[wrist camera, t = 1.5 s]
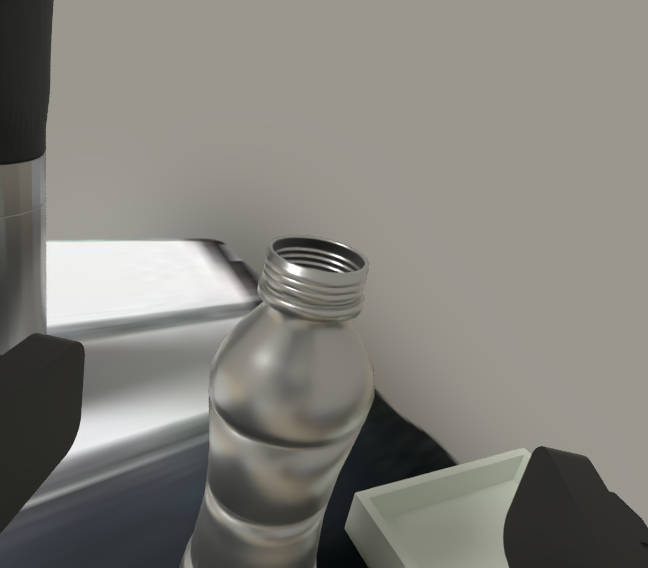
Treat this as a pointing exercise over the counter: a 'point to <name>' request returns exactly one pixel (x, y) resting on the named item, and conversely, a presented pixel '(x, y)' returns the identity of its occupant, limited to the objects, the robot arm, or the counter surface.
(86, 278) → the counter surface
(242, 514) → the plastic bottle
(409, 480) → the tray
